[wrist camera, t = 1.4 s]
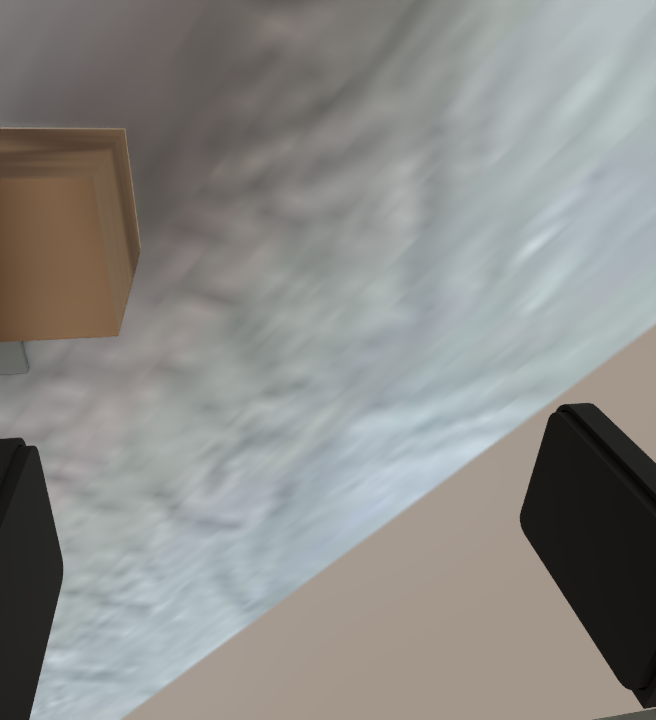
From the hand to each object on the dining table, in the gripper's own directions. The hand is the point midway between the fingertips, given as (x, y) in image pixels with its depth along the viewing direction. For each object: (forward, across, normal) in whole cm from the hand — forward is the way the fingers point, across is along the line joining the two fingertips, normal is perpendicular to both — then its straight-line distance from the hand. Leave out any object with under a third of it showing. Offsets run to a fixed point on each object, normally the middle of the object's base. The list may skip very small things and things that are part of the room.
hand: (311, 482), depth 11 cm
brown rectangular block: (+23, +8, 0) cm, 25 cm away
